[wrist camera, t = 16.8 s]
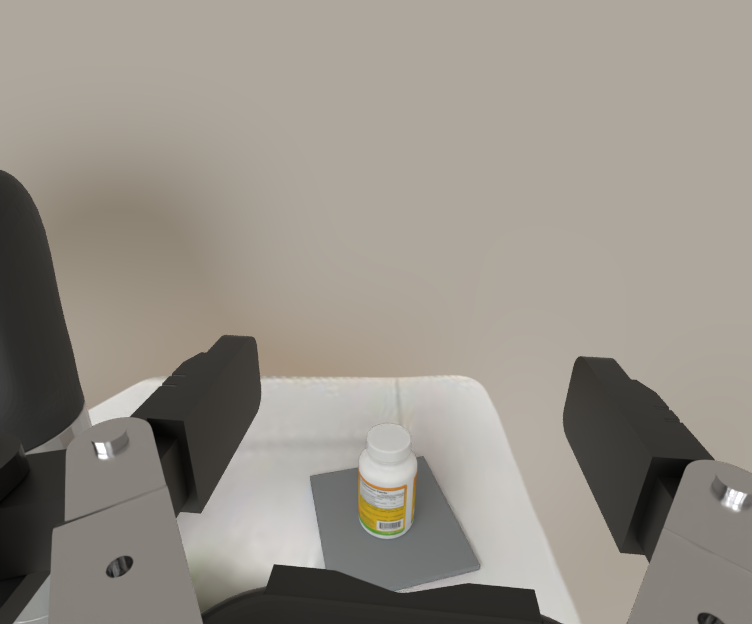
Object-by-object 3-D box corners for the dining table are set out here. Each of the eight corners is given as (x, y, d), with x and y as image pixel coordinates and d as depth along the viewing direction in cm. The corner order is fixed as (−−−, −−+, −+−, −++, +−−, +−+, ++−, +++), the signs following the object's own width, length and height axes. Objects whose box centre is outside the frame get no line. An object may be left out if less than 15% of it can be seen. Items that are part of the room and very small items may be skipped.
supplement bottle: (384, 487, 47) (386, 410, 43) (425, 516, 43) (431, 436, 39) (346, 517, 43) (345, 436, 39) (388, 552, 40) (391, 467, 36)
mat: (332, 606, 36) (332, 601, 35) (310, 480, 48) (310, 476, 48) (479, 569, 39) (479, 564, 39) (423, 460, 51) (423, 456, 51)
